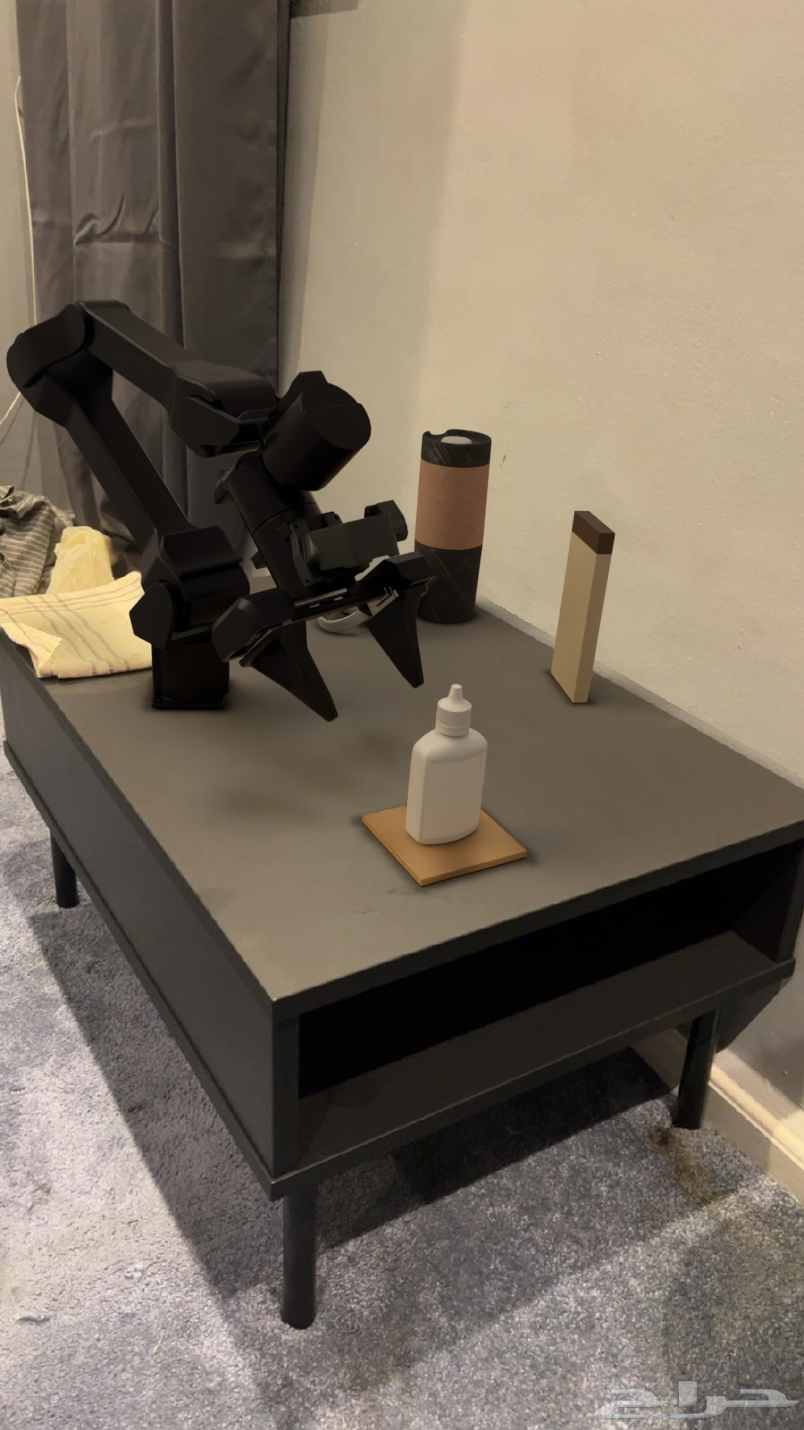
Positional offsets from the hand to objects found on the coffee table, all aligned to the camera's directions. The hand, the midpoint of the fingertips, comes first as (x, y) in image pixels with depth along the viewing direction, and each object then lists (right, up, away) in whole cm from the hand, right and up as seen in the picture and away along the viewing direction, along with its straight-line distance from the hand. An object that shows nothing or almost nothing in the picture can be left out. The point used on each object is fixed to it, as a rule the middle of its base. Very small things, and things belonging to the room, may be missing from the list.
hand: (378, 702), depth 79 cm
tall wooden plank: (+18, +2, +25) cm, 31 cm away
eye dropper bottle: (+5, -10, -1) cm, 11 cm away
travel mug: (+6, +11, +42) cm, 43 cm away
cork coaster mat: (+5, -10, -1) cm, 11 cm away
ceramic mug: (-3, +9, +37) cm, 39 cm away
